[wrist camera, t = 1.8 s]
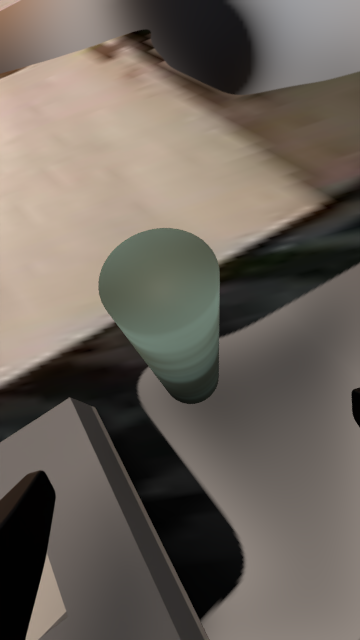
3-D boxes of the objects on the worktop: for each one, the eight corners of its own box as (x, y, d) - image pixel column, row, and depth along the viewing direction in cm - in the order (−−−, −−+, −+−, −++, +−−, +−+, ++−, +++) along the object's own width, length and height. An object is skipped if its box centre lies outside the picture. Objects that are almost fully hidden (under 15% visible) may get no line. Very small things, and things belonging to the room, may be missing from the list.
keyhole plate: (258, 739, 13) (273, 842, 10) (-24, 1004, 11) (-134, 1254, 8) (95, 407, 21) (69, 397, 17) (-93, 531, 19) (-165, 549, 15)
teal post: (229, 382, 21) (245, 285, 9) (183, 415, 20) (134, 357, 8) (197, 339, 22) (176, 210, 11) (153, 369, 22) (79, 266, 10)
